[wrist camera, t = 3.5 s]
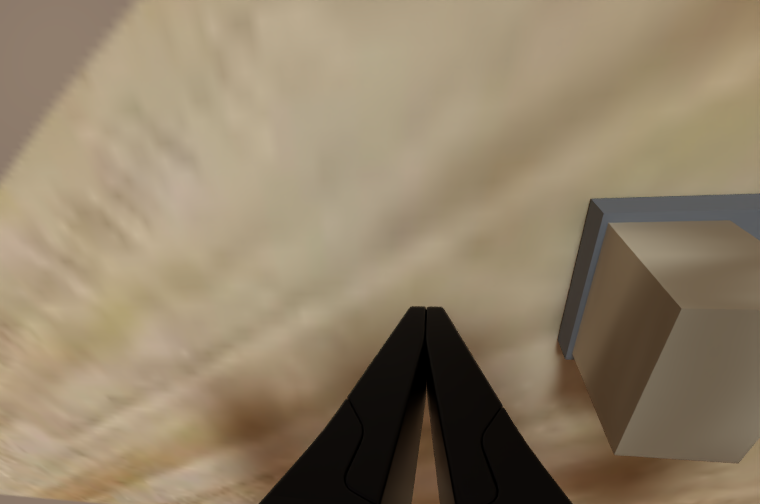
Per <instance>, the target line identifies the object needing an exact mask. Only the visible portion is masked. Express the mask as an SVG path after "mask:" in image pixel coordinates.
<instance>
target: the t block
mask: <svg viewBox="0 0 760 504" xmlns="http://www.w3.org/2000/svg"><path fill="white" fill-rule="evenodd" d="M572 354H573V357H574V359H575V362H576V364H577V366H578V369H579V371H580V374H581V376H582V379H583V381H584V383H585V386H586V388H587V391H588V393H589V395H590V398H591V400H592V403H593V405H594V408H595V410H596V412H597V415H598V417H599V420H600V422H601V424H602V427H603V429H604V432H605V434H606V437H607V439H608V441H609V444H610V446H611V449H612V451H613V453H614V455H622V456H637V457H651V458H666V459H680V460H695V461H710V462H724V463H739V462H740V461H741V460H742V459H743V457H744V456H745V455H746V454H747V452H748V451H749V450H750V449H751V448H752V446H753V445H754V444H755V443H756V441H757V440H758V439H759V438H760V241H759V240H758V239H756V238H755V237H754V236H752V235H751V234H749V233H748V232H746V231H745V230H743V229H742V228H740V227H739V226H737V225H736V224H735V223H733V222H732V221H730V220H719V221H671V222H622V223H608V226H607V229H606V233H605V236H604V240H603V244H602V247H601V251H600V255H599V258H598V262H597V265H596V269H595V273H594V276H593V280H592V284H591V287H590V291H589V295H588V298H587V302H586V305H585V309H584V313H583V316H582V320H581V324H580V327H579V331H578V334H577V338H576V342H575V345H574V349H573V353H572Z"/></svg>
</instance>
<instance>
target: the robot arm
mask: <svg viewBox="0 0 760 504" xmlns="http://www.w3.org/2000/svg"><path fill="white" fill-rule="evenodd" d="M426 388H427V396H428V406H429V414H430V423H431V432H432V440H433V449H434V457H435V466H436V474H437V483H438V491H439V500H440V504H572V502H571V501H570V500H569V499H568V497H567V496H566V495H565V493H564V492H563V491H562V490H561V488H560V487H559V486H558V484H557V483H556V482H555V481H554V479H553V478H552V477H551V475H550V474H549V473H548V471H547V470H546V469H545V468H544V466H543V465H542V464H541V462H540V461H539V459H538V458H537V457H536V455H535V454H534V453H533V451H532V450H531V449H530V447H529V446H528V445H527V443H526V442H525V440H524V438H523V437H522V435H521V434H520V432H519V431H518V429H517V428H516V426H515V425H514V423H513V422H512V420H511V418H510V417H509V415H508V413H507V412H506V410H505V409H504V408H502V407H503V406H502V404H501V402H500V400H499V399H498V397H497V396H496V394H495V392H494V391H493V389H492V387H491V386H490V384H489V382H488V381H487V379H486V377H485V376H484V374H483V373H482V371H481V369H480V368H479V366H478V364H477V363H476V361H475V359H474V358H473V356H472V354H471V353H470V351H469V350H468V348H467V346H466V345H465V343H464V341H463V340H462V338H461V336H460V335H459V333H458V331H457V330H456V328H455V326H454V325H453V323H452V322H451V320H450V318H449V317H448V315H447V313H446V312H445V310H444V309H443V308H442V307H427V310H426V308H425V307H420V306H412V307H410V308H409V309H408V311H407V312H406V314H405V315H404V316H403V318H402V319H401V321H400V322H399V324H398V325H397V327H396V328H395V329H394V331H393V332H392V334H391V335H390V337H389V338H388V339H387V341H386V342H385V344H384V345H383V347H382V348H381V349H380V351H379V352H378V354H377V355H376V357H375V358H374V360H373V361H372V362H371V364H370V365H369V367H368V368H367V370H366V371H365V372H364V374H363V375H362V377H361V378H360V380H359V381H358V382H357V384H356V385H355V387H354V388H353V390H352V391H351V393H350V394H349V395H348V397H347V399H346V400H345V401H344V402H343V404H342V405H341V407H340V408H339V410H338V411H337V412H336V414H335V415H334V416H333V418H332V419H331V420H330V422H329V423H328V424H327V426H326V427H325V428H324V430H323V431H322V432H321V433H320V435H319V436H318V437H317V438H316V439H315V441H314V442H313V443H312V444H311V445H310V446H309V448H308V449H307V450H306V451H305V452H304V453H303V454H302V456H301V457H300V458H299V459H298V460H297V461H296V462H295V464H294V465H293V466H292V467H291V468H290V469H289V470H288V471H287V473H286V474H285V475H284V476H283V477H282V478H281V479H280V481H279V482H278V483H277V484H276V485H275V486H274V487H273V488H272V490H271V491H270V492H269V493H268V494H267V495H266V496H265V497H264V498H263V500H262V501H261V502H260V503H259V504H411V502H412V495H413V488H414V481H415V473H416V466H417V459H418V451H419V444H420V437H421V429H422V422H423V415H424V407H425V400H426Z"/></svg>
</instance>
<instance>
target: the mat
mask: <svg viewBox="0 0 760 504" xmlns="http://www.w3.org/2000/svg"><path fill="white" fill-rule="evenodd" d="M719 220H730V221H732V222H733V223H735V224H736V225H737V226H739V227H740V228H742V229H743V230H745V231H746V232H748V233H749V234H751V235H752V236H754V237H755V238H756V239H758V240H759V241H760V194H735V195H702V196H669V197H636V198H603V199H591V202H590V206H589V210H588V214H587V219H586V223H585V227H584V231H583V235H582V240H581V244H580V248H579V252H578V256H577V261H576V265H575V269H574V273H573V278H572V282H571V286H570V290H569V294H568V299H567V303H566V307H565V311H564V315H563V320H562V324H561V328H560V332H559V336H558V342H559V344H560V347H561V349H562V352H563V355H564V357H565V359H572V360H575V359H574V357H573V354H572V353H573V349H574V345H575V342H576V338H577V334H578V331H579V327H580V324H581V320H582V316H583V313H584V309H585V305H586V302H587V298H588V295H589V291H590V287H591V284H592V280H593V276H594V273H595V269H596V265H597V262H598V258H599V255H600V251H601V247H602V244H603V240H604V236H605V233H606V229H607V226H608V223H622V222H671V221H719Z"/></svg>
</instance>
